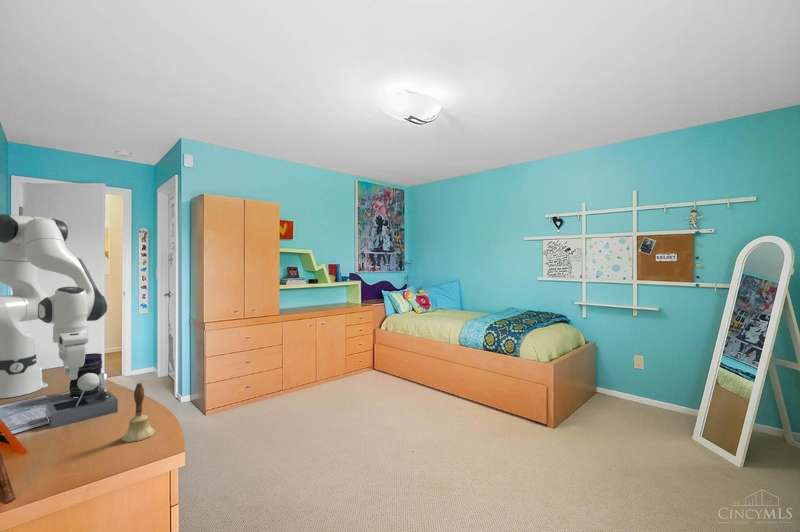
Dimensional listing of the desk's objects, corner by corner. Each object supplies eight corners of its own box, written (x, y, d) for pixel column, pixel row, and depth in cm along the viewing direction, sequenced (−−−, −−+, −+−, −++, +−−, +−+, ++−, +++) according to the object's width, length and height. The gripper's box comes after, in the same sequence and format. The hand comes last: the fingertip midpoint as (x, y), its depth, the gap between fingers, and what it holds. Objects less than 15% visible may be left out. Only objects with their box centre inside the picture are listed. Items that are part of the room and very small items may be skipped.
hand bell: (118, 436, 111) (118, 384, 111) (150, 426, 118) (150, 377, 117) (126, 445, 106) (126, 390, 106) (159, 435, 112) (159, 383, 112)
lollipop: (84, 420, 125) (106, 376, 128) (65, 421, 119) (88, 375, 123) (75, 414, 127) (97, 371, 131) (56, 414, 122) (78, 370, 126)
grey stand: (51, 428, 116) (51, 388, 115) (45, 417, 123) (45, 379, 123) (117, 411, 129) (117, 375, 129) (108, 402, 136) (108, 368, 136)
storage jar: (79, 399, 139) (79, 360, 139) (63, 396, 142) (63, 358, 142) (108, 391, 148) (108, 354, 148) (91, 388, 151) (91, 352, 151)
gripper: (53, 332, 128) (52, 371, 128) (63, 341, 114) (63, 385, 115) (77, 329, 132) (76, 367, 133) (89, 338, 119) (89, 380, 120)
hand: (70, 376), depth 124 cm, fingers open, 8 cm apart
